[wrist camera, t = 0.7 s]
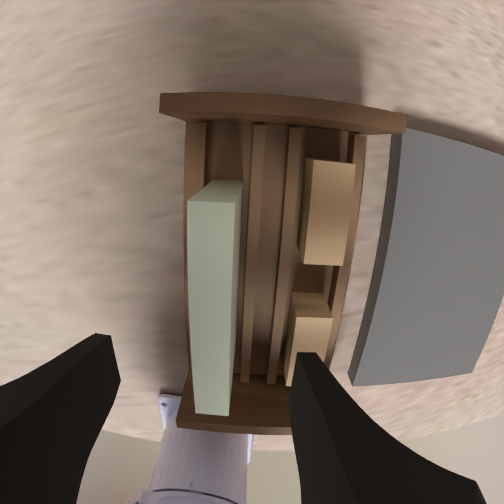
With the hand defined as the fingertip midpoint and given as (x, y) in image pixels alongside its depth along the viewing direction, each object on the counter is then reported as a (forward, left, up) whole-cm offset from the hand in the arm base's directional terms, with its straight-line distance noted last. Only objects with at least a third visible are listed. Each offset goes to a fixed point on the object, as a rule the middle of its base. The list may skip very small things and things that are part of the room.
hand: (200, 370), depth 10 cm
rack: (0, -2, -10) cm, 11 cm away
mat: (0, -15, -10) cm, 19 cm away
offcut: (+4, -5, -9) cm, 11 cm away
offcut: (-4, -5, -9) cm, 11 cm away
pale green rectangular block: (0, 0, -9) cm, 9 cm away
